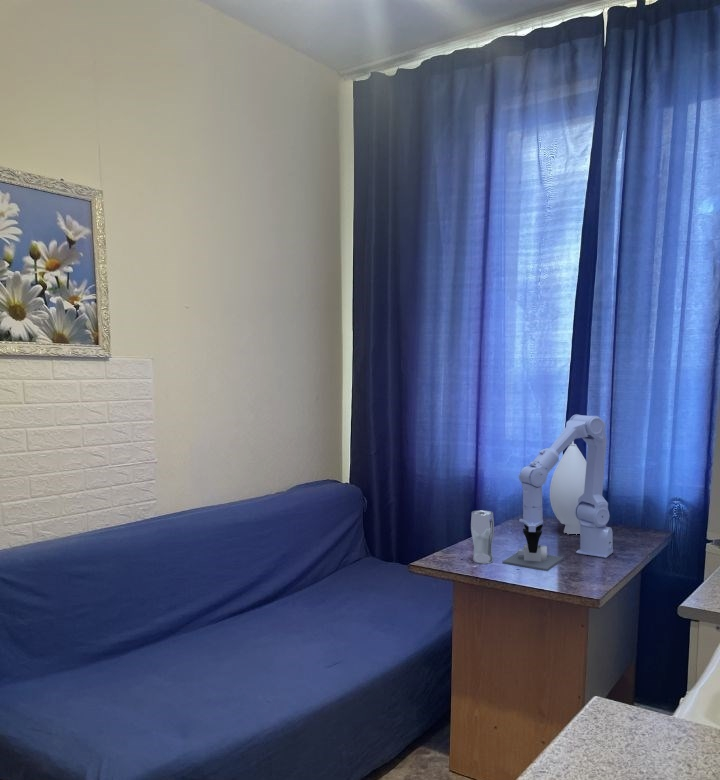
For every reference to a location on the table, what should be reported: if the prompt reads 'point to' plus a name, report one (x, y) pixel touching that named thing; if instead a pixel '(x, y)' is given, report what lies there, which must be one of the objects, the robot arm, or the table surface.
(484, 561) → the beer glass
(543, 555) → the connector
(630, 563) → the table surface
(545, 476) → the robot arm
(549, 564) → the mat
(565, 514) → the lamp
